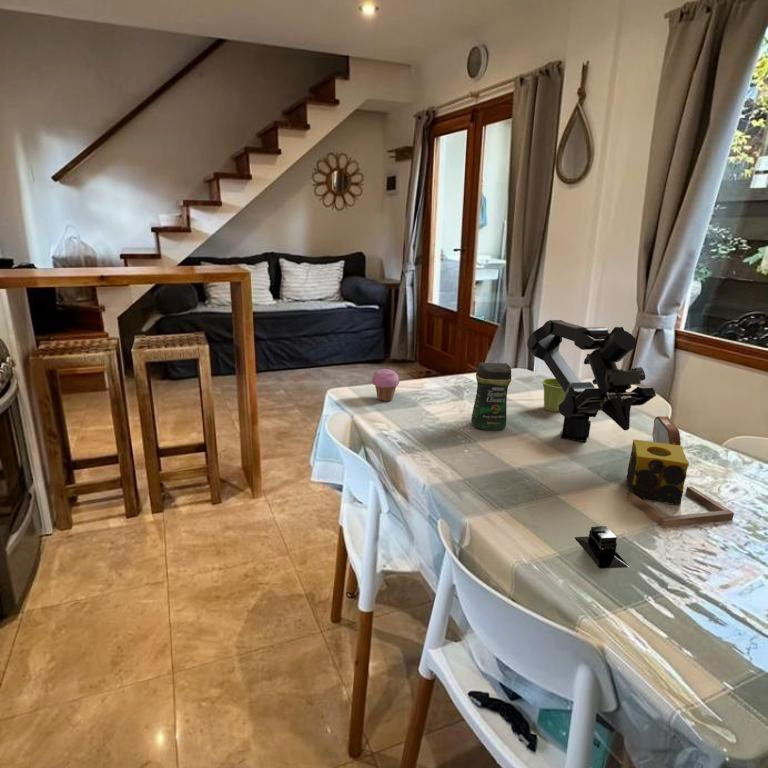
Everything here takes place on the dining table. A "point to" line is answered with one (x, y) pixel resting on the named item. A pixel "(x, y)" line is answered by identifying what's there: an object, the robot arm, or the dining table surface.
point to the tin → (665, 431)
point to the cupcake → (385, 383)
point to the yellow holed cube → (657, 471)
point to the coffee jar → (491, 396)
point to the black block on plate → (602, 548)
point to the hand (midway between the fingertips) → (626, 429)
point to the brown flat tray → (717, 515)
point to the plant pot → (552, 394)
